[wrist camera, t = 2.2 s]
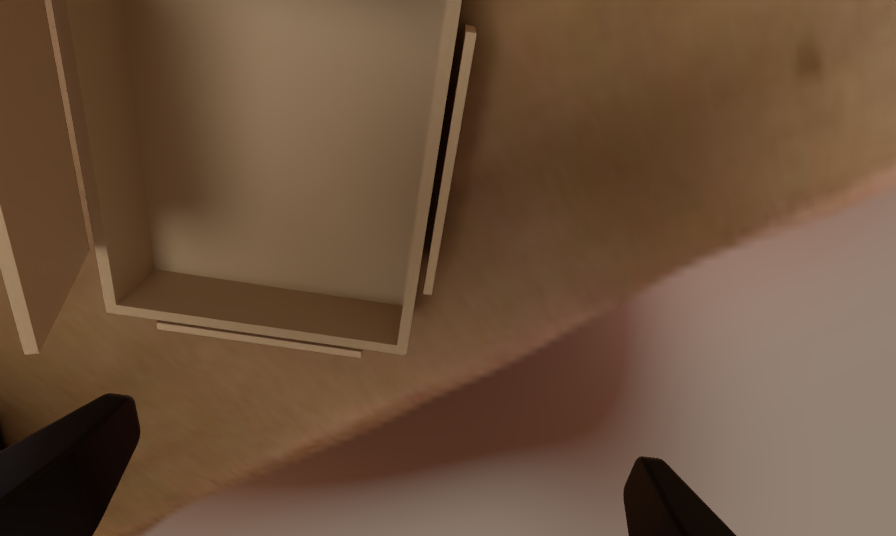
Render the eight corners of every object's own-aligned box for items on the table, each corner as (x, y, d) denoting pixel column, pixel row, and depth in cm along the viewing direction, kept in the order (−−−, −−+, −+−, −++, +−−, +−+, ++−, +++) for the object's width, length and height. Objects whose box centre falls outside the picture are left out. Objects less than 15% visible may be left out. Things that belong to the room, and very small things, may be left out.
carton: (423, 324, 23) (419, 368, 20) (150, 284, 22) (108, 324, 19) (490, -72, 16) (496, -83, 13) (97, -148, 15) (20, -174, 13)
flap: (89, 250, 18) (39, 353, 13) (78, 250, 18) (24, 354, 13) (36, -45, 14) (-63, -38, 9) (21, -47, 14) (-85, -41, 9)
